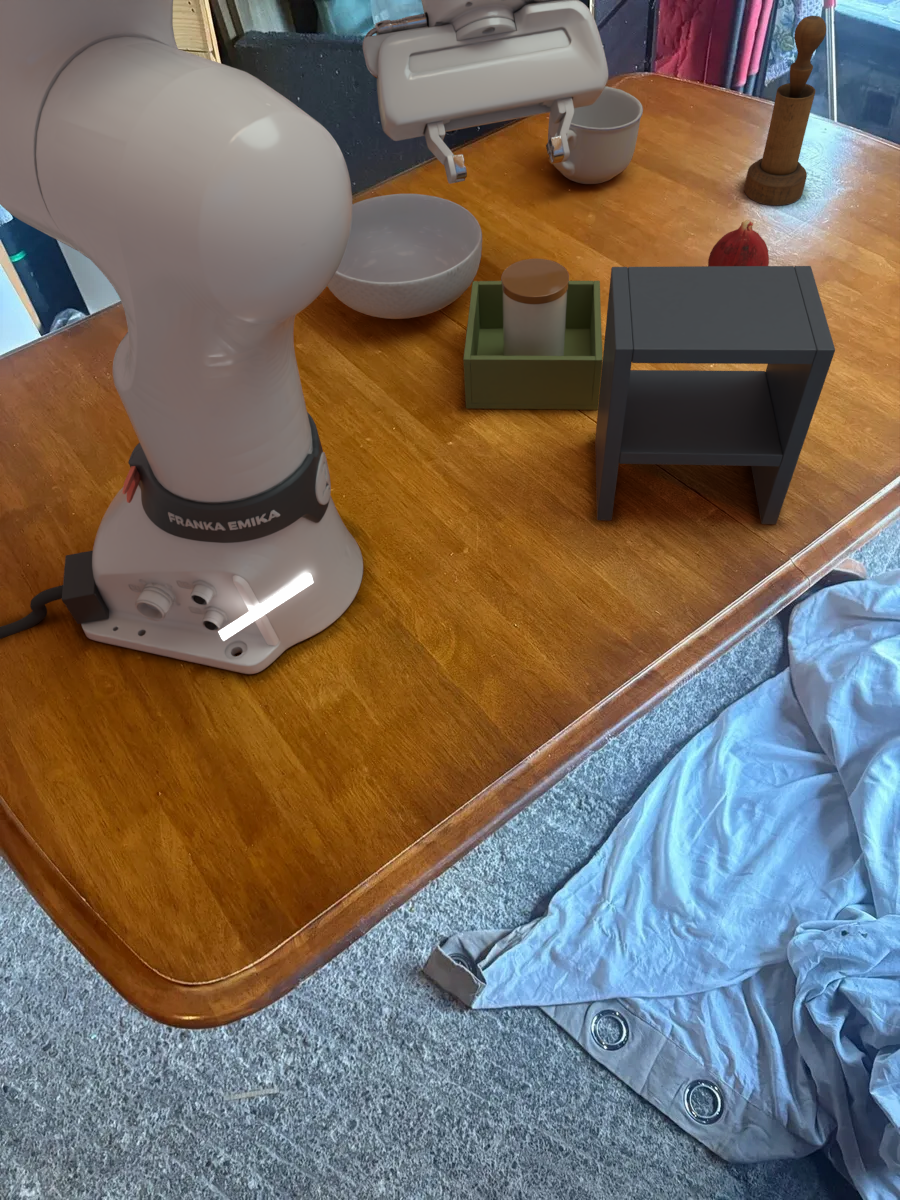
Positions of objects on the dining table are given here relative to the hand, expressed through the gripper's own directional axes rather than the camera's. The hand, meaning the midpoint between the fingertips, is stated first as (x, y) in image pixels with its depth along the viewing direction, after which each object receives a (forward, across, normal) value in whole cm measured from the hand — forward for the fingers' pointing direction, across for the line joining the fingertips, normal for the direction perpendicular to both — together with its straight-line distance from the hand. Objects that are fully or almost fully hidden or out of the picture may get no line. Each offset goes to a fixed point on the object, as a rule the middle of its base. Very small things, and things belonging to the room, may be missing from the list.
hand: (509, 170), depth 79 cm
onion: (+14, +23, +9) cm, 28 cm away
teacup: (-7, +17, +29) cm, 35 cm away
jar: (+16, 0, +5) cm, 17 cm away
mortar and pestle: (+1, +36, +21) cm, 42 cm away
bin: (+17, 0, +6) cm, 18 cm away
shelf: (+30, +7, -8) cm, 31 cm away
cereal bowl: (+5, -9, +17) cm, 20 cm away
